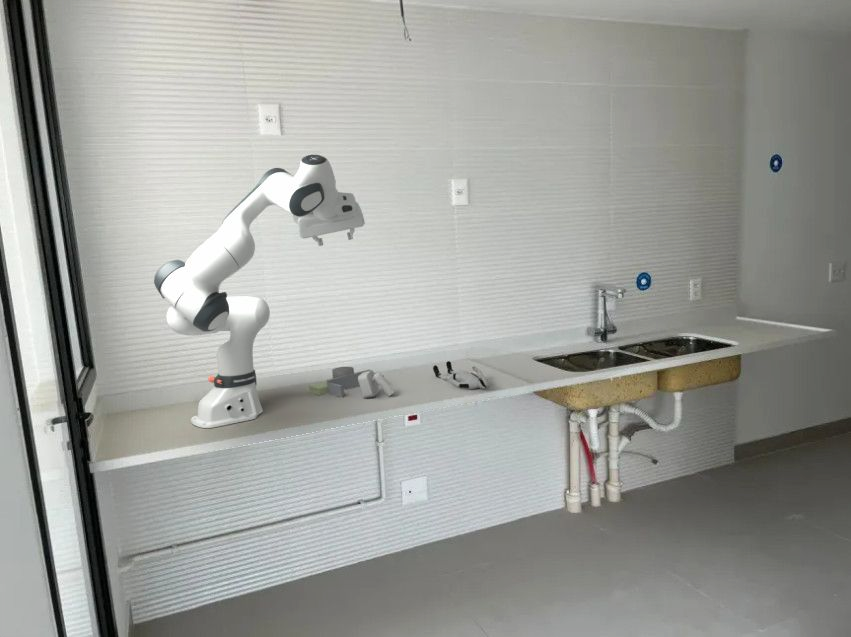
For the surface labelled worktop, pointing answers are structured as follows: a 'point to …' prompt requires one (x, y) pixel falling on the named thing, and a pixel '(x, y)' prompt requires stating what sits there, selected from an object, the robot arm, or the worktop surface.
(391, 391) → the wall hook
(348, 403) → the worktop surface
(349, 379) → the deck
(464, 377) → the figurine
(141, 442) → the worktop surface
